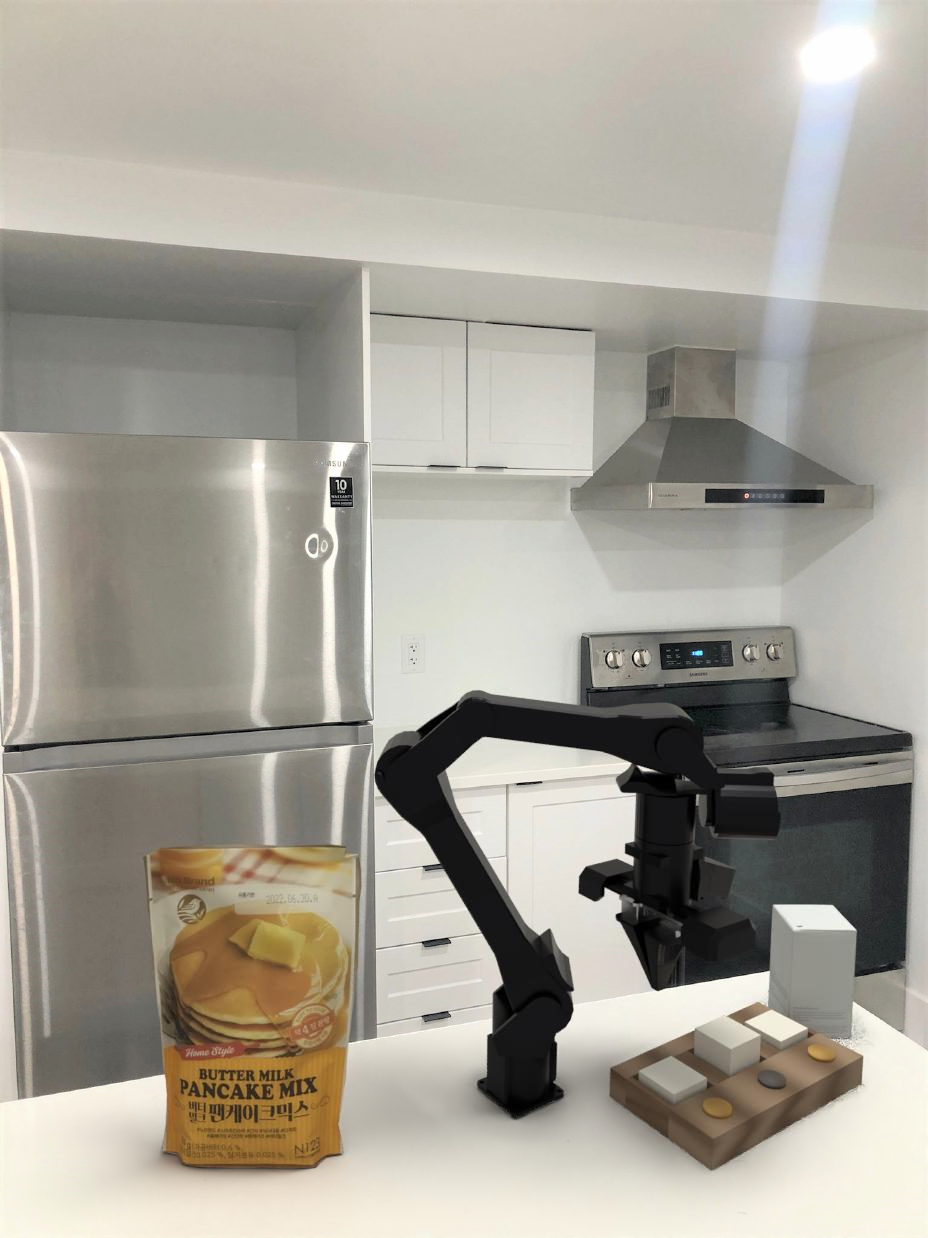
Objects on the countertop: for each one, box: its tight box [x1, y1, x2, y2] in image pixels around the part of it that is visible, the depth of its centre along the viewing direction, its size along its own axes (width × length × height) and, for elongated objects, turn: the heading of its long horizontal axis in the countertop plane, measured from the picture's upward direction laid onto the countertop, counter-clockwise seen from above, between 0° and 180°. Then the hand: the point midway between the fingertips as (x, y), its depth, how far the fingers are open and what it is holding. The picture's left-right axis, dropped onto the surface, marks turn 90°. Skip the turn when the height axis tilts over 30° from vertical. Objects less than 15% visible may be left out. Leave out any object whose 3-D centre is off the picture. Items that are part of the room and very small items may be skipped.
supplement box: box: [767, 904, 858, 1039], centre depth 108 cm, size 7×7×13 cm
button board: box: [609, 1001, 864, 1171], centre depth 95 cm, size 23×13×3 cm, turn 125°
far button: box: [745, 1010, 808, 1051], centre depth 101 cm, size 5×5×3 cm
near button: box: [638, 1056, 707, 1106], centre depth 91 cm, size 5×5×3 cm
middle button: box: [694, 1014, 761, 1077], centre depth 96 cm, size 5×5×3 cm
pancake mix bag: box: [142, 843, 362, 1169], centre depth 84 cm, size 7×19×28 cm, turn 90°
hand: (658, 989), depth 93 cm, fingers closed
